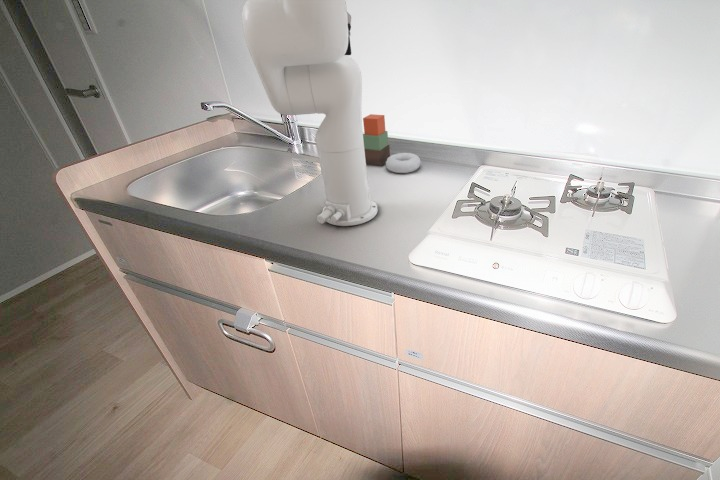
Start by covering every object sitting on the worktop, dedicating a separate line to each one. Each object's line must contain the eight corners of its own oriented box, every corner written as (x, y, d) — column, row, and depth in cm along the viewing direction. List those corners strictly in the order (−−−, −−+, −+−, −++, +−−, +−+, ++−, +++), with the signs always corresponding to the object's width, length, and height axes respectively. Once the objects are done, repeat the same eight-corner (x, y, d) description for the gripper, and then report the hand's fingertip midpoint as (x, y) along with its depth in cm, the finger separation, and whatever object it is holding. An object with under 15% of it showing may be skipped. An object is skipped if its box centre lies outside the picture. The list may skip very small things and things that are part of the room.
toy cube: (378, 135, 103) (377, 119, 100) (364, 134, 104) (362, 118, 102) (385, 131, 106) (384, 115, 103) (372, 130, 108) (370, 114, 105)
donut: (392, 161, 110) (381, 173, 102) (391, 150, 108) (380, 161, 100) (424, 163, 107) (415, 176, 99) (424, 152, 105) (415, 163, 97)
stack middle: (379, 150, 104) (378, 136, 102) (363, 148, 107) (361, 134, 104) (388, 144, 108) (387, 131, 106) (372, 143, 111) (371, 129, 108)
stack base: (381, 166, 107) (380, 151, 104) (363, 164, 109) (362, 149, 106) (390, 159, 111) (389, 144, 109) (373, 157, 113) (371, 142, 111)
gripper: (331, -27, 89) (341, 53, 99) (285, -30, 77) (302, 62, 87) (357, -30, 86) (365, 53, 96) (314, -34, 74) (328, 62, 84)
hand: (335, 57), depth 91 cm, fingers open, 9 cm apart
